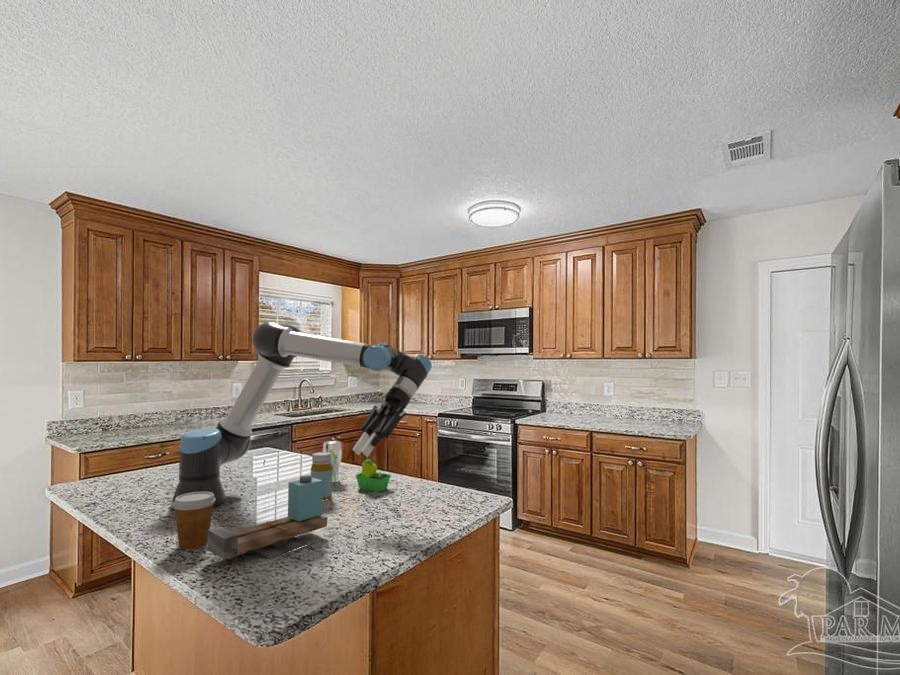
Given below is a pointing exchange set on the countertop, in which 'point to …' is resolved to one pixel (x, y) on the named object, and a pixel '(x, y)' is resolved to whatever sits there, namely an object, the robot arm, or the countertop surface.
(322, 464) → the bottle
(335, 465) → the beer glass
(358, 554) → the countertop surface
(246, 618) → the countertop surface
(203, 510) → the disposable coffee cup
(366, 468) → the fruit basket
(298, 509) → the block
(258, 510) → the countertop surface
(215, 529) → the balance beam
